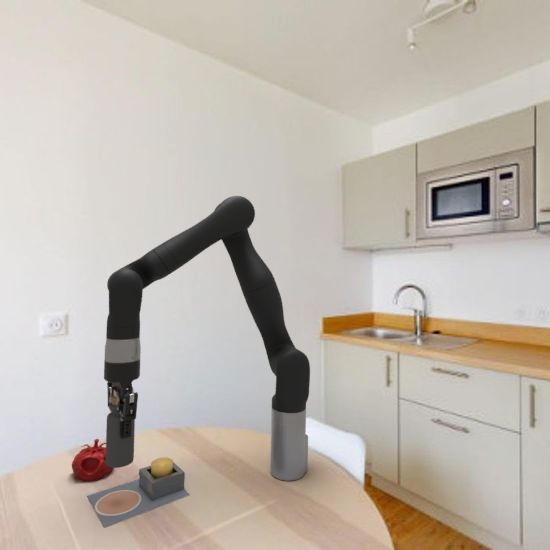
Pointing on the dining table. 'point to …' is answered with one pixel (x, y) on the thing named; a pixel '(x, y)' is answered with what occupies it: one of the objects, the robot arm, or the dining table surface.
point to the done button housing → (161, 482)
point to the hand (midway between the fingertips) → (120, 432)
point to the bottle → (118, 440)
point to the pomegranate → (91, 463)
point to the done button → (161, 467)
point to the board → (126, 502)
